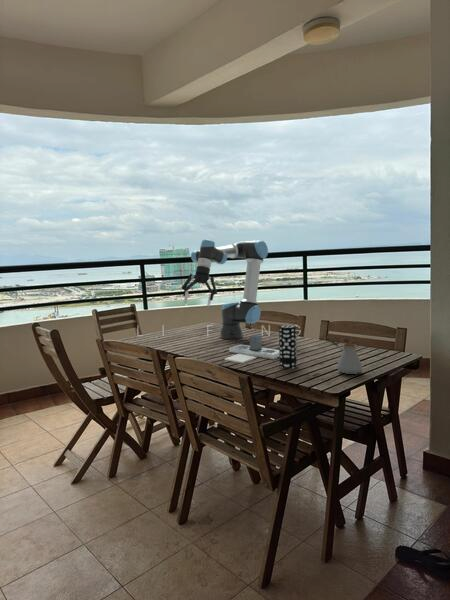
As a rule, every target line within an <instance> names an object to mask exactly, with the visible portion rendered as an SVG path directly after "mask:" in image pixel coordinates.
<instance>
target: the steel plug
mask: <svg viewBox="0 0 450 600" xmlns="http://www.w3.org/2000/svg"><path fill="white" fill-rule="evenodd" d="M262 345H263V344H262V335H258V334H253V335H250V336H249V346H250V350H253V351H259V350H262V348H263V347H262Z"/></svg>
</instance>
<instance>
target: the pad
mask: <svg viewBox="0 0 450 600" xmlns="http://www.w3.org/2000/svg"><path fill="white" fill-rule="evenodd" d="M256 359H257V357H256V356H250V355H244V354H238V353H236V354H234V355H231V356H228V357H225V358H224V361H227V362H234V363H238V364H245V363H248V362H250V361H252V360H253V361H254V360H256Z"/></svg>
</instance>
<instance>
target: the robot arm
mask: <svg viewBox="0 0 450 600" xmlns="http://www.w3.org/2000/svg"><path fill="white" fill-rule="evenodd" d="M199 247H200V248H199V249H196V250H193V251H191V254H190V255H191V256H190V258H191V260H192V262H193V263H197V264H196V266H197V267H196V269H195V274H192V273H189V277H188V278H187V279H186V281H185V282H184V283H183V285H182V286H181V289H182V290H183V291H184V292H183V297H184V299H183V303H185V304H187V301H188V298H189V292H190V291H189V290H190V289H191V288H193V287H194V286H195V285H197V284H202V285H205V286H206V287H207V289H208V291H209V294H208V300H207V304H206V305H207V307H211V301H213V300H214V295H218V290H217V287H216V284H215V277H214V276H210V272H211V269H210V268H212V267H211V266H212V263H216V264H218V265H224V264H225V263H226V262H227V260H228V258H229V259H245V262H246V263H247V264H246V270H245V271H246V272H245V277H244V278H245V280H244V288H243V296H242V299H241V300H240V302H239V301H233V302H232V301H231V302H226V303H223V304H222V306H221V319H222V320H221V325H222V327H221V329H220V333H219V337H220V338H221V339H224V340H237V339H242V338H243V337H244V336H243V335H244V334H243V331H242V327H241V324H242V323H245V324H256V323H257V322H258V321H259V320H260V318H261V313H262V311H261V307H260V306H259V303H258V301H257V297H258V288H259V287H258V286H259V281H260V270H261V265H262V263H263V262H264V259H266V258H267V257H268V254H269V249H268V246H267V243H266V242H265V241H264V240H262V239H261V240H260V239H254V240H253V239H252V240H241V241H238V242H234V243H233V242H232V243H229V244H228V245H224V246H219V247H216V242H215V241H214V240H211V239H203V240H201V244H200V246H199ZM191 281H192V282H191ZM208 281H210V282H211V286H210V285H209V282H208ZM190 282H191V283H190ZM211 287H212V288H211ZM240 323H241V324H240Z"/></svg>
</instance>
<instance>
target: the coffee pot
mask: <svg viewBox="0 0 450 600" xmlns="http://www.w3.org/2000/svg"><path fill="white" fill-rule="evenodd" d="M323 340H327V341H329V342H330V343H331V344H333V345H335V346H336V347H337V348H338V349H340V350H341V351H342V354H341V355H340V357H339V359H338V362H337V364H336V368H337V370H338V371H339V372H340V373H341V372H342V373H347V374H355V373H358V374H359V373H361V372H362V371H363V367H364V366H363V364H362V362H361V360H360V358H359V355H358V353H357V351H356V349H357V347H358V346H357V344H355V343H344V344H342V345H339V344H338V343H337V342H335V341H334V340H333V339H331V338H330V337H328V336H326V335H324V337H323ZM342 373H341V374H342Z"/></svg>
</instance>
